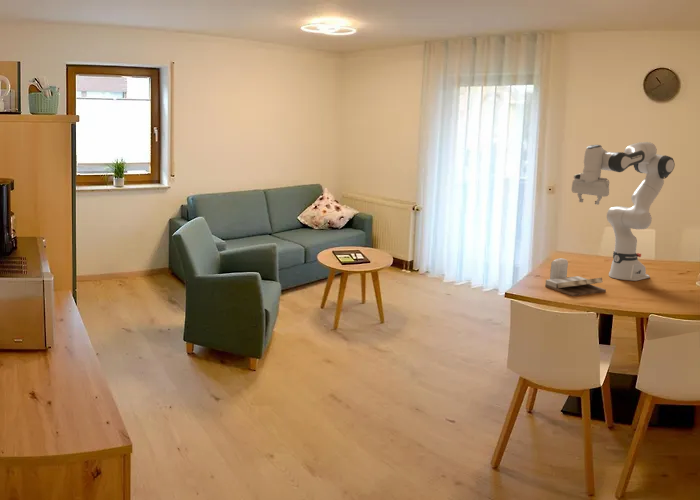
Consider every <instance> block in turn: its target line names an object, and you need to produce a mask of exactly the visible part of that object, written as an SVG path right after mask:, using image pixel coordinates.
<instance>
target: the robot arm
mask: <svg viewBox="0 0 700 500" xmlns="http://www.w3.org/2000/svg"><path fill="white" fill-rule="evenodd" d="M583 164H584V165H583V169H582V172H580V173H576V174H574V175H573V180H572V184H571V192H572V193H574V194H577V197H578V203H584V198H583V197H582V196H583V195H589V196H596V198H597V200H595V201H594V204H595V205H596V206H597V205H600V201H601V200H602V198H603V197H604V198H605V197H608V196H609V195H610V180H609V179H608V178H605V177H601V175H602V174H601V173H602V170H603V171H610V172H617V173H622V172H624V171H626V170H627V169H628V168H629V167H632V166H633V168H634V170H635V172H638V173H640V174H645V178H644V179H643V180H642V181H641V182H640V184H639V185H638V186H637V188H636V189H635V190H634V192H632V195H631V202H632V204H633V205H632V206H631V207H628V206H621V205H615V206H612V207H610V208H608V210H607V212H606V219H607V222H608V223H609V224H610V226H611V227H612V229H613V230H612V231H613V233H614V238H615V239H614V242H615V243H614V251H613V254H612V258H613V259H612V261H611V265H610V270H609V272H608V276H609V277H610V278H611V279H612V278H613V279H617V280H624V281H634V282H637V281H641V280H645V279H650V277H651V276H650V275H649V274H647V273H646V272H647V271H646V270H647V269H646V266H645V265H644V264H643V263H642V262H641V261H640V260H639V259H638V258H641V257H642V253H638V252H637V247H638V245H637V244H638V240H637V237H636V236H635V235H634V233H633V232H632V230H645V229H648V228H649V227H650V226H651V224H652V219H653V218H652V215H651V213H650V208H651V207H652V204H653V203H654V201H655V199H656V198H657V197H658V195H659V194H660V192H661V191H662V188H663V186H664V183H665V179H666V178H668V177H669V176H670V175H671V174H672V172H673V171H674V169H675V166H676V165H675V161H674V158H673V157H672V156H669V155H662V154H657V146H656V145H655V144H654V143H653V142H650V141H649V142H648V141H642V142H641V141H639V142H636V143H632V144H629V145H628V146H626V147H625V149H624V151H623V152H622V151H621V152H620V151H617V152H616V151H615V152H614V151H607V150H605V149H604V148H603V146H602V145H601V144H591V145H588V146H587V147H586V149H585V151H584V158H583Z"/></svg>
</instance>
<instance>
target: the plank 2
mask: <svg viewBox="0 0 700 500" xmlns="http://www.w3.org/2000/svg"><path fill="white" fill-rule="evenodd" d="M600 283H603V277H597V278H589V279H588V278H586V284H585V285H588V284H590V285H594V284H600ZM579 286H580V285H579Z"/></svg>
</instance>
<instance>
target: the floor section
mask: <svg viewBox="0 0 700 500" xmlns="http://www.w3.org/2000/svg"><path fill="white" fill-rule="evenodd" d="M586 279H587V278H585V277H582V276H579V275H577V276H569V277H566V278H557V279H550V278H549V279H545V285H544V286H545V288H548V289H551V290H554V291H558V292H560V293H563V294H565V295H569V296H572V297H576V296H583V295H584V296H585V295H591V294H592V293H593V294H599V293H606V291H607V289H605V288H603V287H599V286H595V285H594V284H588V285H580V286H572V287H563V288H558V284H557V283H563V282H570V281H578V280H586ZM593 294H592V295H593Z"/></svg>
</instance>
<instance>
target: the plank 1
mask: <svg viewBox="0 0 700 500" xmlns="http://www.w3.org/2000/svg"><path fill="white" fill-rule="evenodd" d="M557 284H558V288H563V287H572V286H579V285H585V284H586V280H578V281H570V282H563V283H557Z"/></svg>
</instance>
